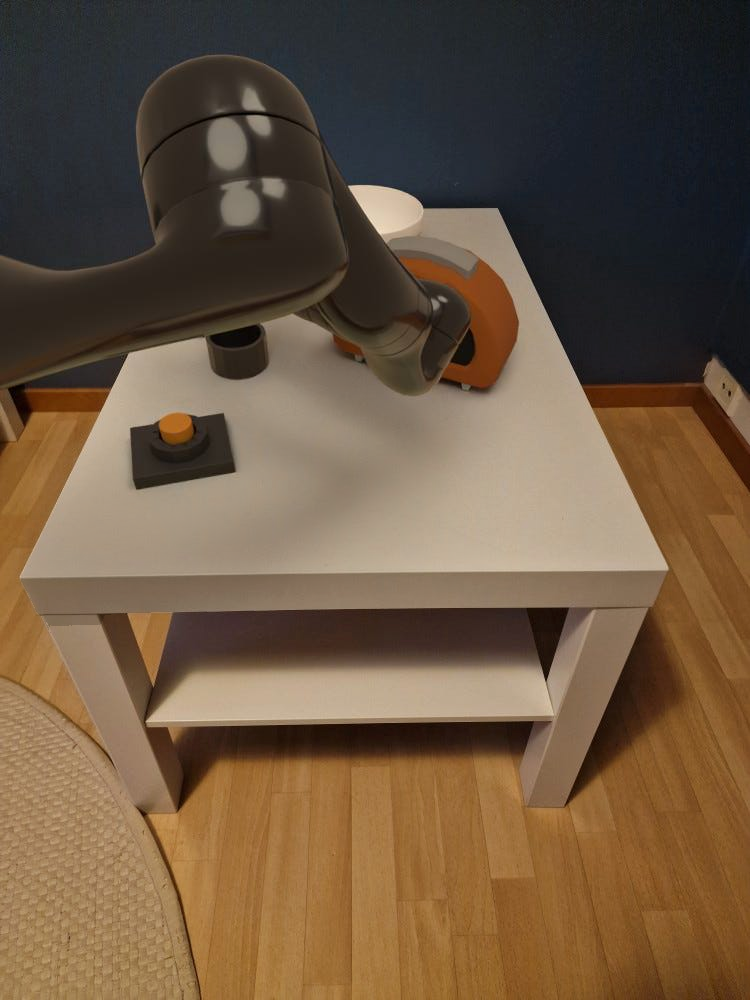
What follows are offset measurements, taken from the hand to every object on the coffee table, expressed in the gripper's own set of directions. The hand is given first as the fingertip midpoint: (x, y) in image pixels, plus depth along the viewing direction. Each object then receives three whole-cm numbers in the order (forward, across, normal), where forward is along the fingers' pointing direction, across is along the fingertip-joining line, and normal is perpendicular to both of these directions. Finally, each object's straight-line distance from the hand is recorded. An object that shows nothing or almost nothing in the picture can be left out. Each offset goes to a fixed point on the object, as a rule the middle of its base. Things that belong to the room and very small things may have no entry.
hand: (206, 226), depth 80 cm
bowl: (+8, -34, +19) cm, 40 cm away
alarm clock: (-18, -19, +19) cm, 32 cm away
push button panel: (-11, +15, +19) cm, 27 cm away
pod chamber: (-1, -1, +19) cm, 19 cm away
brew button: (-11, +15, +16) cm, 25 cm away
